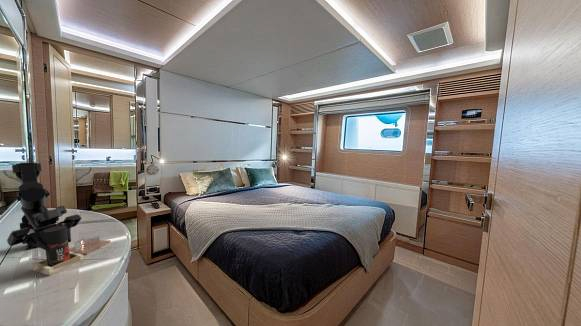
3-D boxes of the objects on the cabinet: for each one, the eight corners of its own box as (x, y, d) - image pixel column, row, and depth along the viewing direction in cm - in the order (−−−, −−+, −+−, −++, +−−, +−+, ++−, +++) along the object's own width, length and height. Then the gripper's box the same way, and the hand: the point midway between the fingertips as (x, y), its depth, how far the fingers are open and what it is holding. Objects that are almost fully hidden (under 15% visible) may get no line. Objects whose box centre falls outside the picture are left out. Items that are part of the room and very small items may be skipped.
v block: (110, 242, 100) (110, 235, 100) (87, 254, 89) (86, 247, 89) (90, 241, 101) (89, 234, 101) (64, 253, 90) (63, 246, 90)
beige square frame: (32, 270, 78) (32, 264, 78) (67, 256, 88) (67, 250, 88) (49, 275, 75) (49, 269, 75) (83, 260, 85) (83, 254, 85)
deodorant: (55, 271, 78) (50, 232, 77) (43, 268, 79) (38, 231, 78) (74, 262, 84) (70, 226, 82) (63, 260, 85) (59, 224, 83)
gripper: (7, 209, 71) (30, 245, 69) (76, 195, 89) (96, 223, 87) (-3, 228, 74) (19, 263, 72) (66, 211, 92) (85, 239, 90)
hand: (59, 245), depth 80 cm, fingers open, 6 cm apart
